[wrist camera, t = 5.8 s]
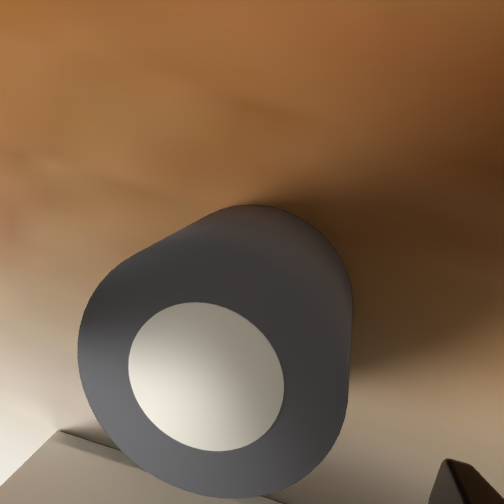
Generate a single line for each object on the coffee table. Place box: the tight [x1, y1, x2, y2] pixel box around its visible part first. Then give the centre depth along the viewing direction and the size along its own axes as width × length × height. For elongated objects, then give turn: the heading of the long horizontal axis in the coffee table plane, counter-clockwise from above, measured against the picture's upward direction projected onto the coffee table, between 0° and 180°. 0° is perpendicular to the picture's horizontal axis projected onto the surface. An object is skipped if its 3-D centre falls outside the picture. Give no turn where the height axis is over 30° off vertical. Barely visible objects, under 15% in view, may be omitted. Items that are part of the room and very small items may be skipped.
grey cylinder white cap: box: [78, 205, 353, 499], centre depth 11 cm, size 6×6×5 cm
